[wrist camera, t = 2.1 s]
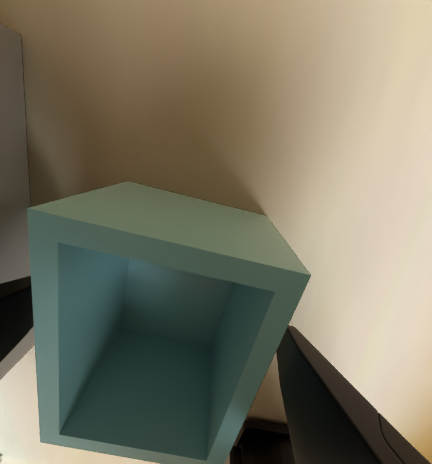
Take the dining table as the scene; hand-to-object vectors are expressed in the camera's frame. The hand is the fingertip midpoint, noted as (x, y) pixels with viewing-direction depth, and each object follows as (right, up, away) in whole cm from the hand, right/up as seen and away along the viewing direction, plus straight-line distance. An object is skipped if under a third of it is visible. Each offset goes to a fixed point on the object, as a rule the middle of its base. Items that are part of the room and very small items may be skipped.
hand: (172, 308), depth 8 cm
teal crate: (0, +1, +2) cm, 2 cm away
